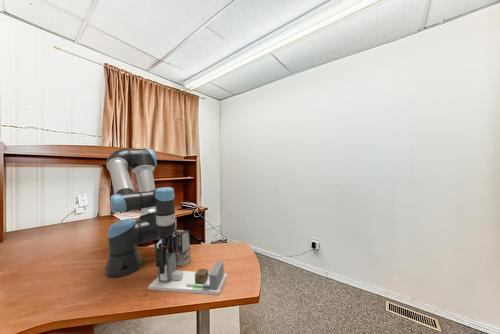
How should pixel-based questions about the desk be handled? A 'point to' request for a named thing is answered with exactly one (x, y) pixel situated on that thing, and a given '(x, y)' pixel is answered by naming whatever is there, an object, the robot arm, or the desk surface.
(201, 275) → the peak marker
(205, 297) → the desk surface
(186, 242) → the coffee box
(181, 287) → the board
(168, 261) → the grey block
